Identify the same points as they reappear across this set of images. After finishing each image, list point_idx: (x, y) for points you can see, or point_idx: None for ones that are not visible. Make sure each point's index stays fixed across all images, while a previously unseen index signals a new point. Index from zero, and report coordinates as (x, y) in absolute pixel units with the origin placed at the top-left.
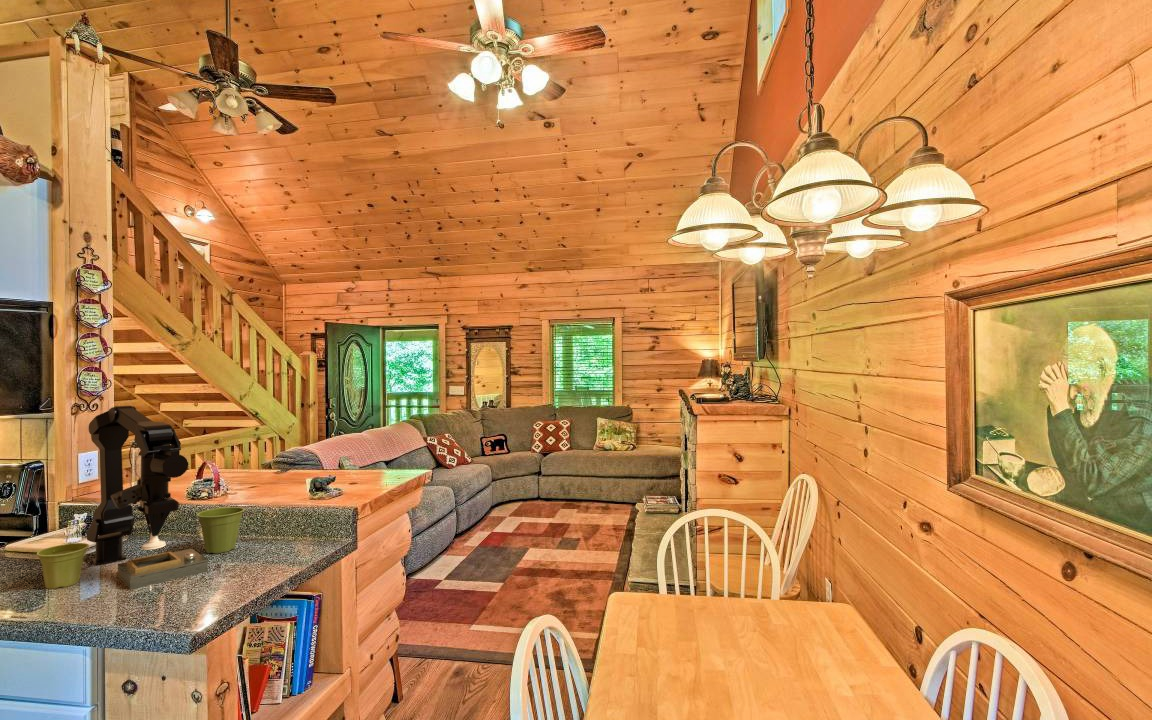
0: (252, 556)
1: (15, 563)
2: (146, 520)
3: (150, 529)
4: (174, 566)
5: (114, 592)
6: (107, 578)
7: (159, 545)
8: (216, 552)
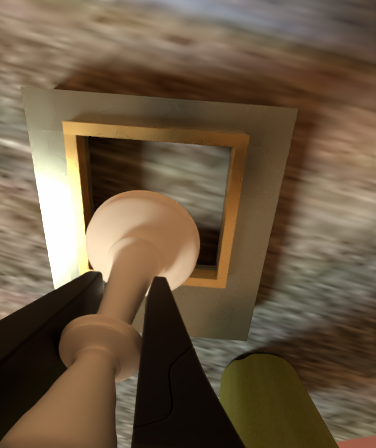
0: (125, 392)
1: None
2: (178, 357)
3: (147, 301)
4: (56, 243)
5: (61, 36)
6: (284, 68)
7: (90, 259)
8: (229, 365)
